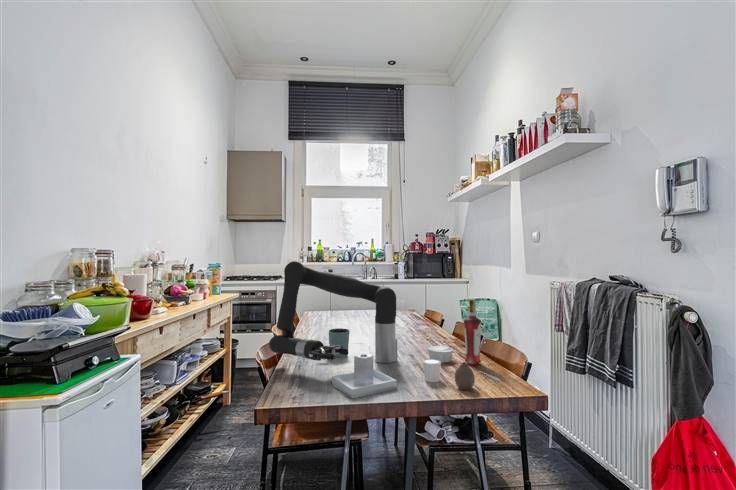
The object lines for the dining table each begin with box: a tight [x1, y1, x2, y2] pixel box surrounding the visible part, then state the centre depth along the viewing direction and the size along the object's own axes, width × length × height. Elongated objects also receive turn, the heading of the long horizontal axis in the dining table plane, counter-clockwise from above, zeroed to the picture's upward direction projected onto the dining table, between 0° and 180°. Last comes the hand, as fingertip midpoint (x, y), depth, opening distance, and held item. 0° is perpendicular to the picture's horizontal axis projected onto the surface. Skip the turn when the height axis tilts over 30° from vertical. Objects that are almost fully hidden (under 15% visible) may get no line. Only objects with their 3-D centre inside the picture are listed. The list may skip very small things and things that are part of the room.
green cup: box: [328, 328, 350, 359], centre depth 177 cm, size 10×10×12 cm
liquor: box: [463, 298, 482, 366], centre depth 162 cm, size 7×7×28 cm
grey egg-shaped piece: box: [454, 362, 476, 391], centre depth 132 cm, size 7×7×9 cm
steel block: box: [353, 352, 374, 386], centre depth 134 cm, size 5×5×10 cm
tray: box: [331, 368, 398, 399], centre depth 134 cm, size 18×16×3 cm
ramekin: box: [427, 345, 454, 364], centre depth 168 cm, size 11×11×5 cm
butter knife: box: [478, 370, 502, 382], centre depth 152 cm, size 1×27×3 cm
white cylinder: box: [422, 358, 442, 383], centre depth 141 cm, size 7×7×7 cm
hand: (340, 354), depth 140 cm, fingers open, 8 cm apart
